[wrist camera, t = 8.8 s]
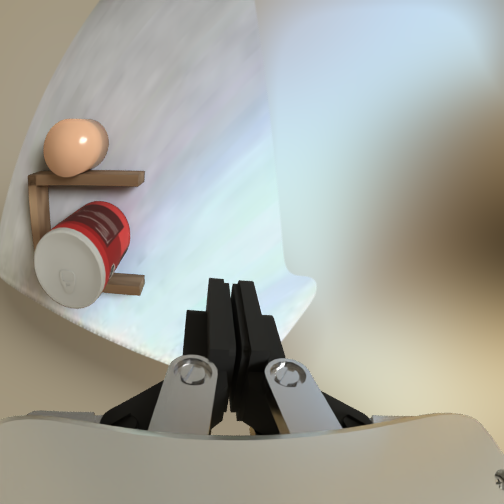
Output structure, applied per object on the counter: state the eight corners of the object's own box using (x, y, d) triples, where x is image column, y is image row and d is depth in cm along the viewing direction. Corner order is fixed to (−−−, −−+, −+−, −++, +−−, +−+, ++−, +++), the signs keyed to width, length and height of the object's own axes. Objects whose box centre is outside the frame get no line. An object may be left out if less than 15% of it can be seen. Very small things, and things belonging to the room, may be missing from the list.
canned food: (85, 265, 36) (49, 312, 26) (68, 205, 32) (22, 237, 22) (138, 257, 36) (114, 306, 26) (124, 193, 33) (89, 222, 23)
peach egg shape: (65, 120, 29) (44, 121, 24) (110, 118, 30) (94, 117, 25) (63, 170, 31) (43, 177, 26) (107, 170, 32) (92, 177, 27)
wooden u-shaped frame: (40, 171, 30) (27, 175, 27) (144, 171, 32) (138, 175, 30) (49, 275, 35) (40, 285, 33) (144, 283, 37) (140, 295, 35)
